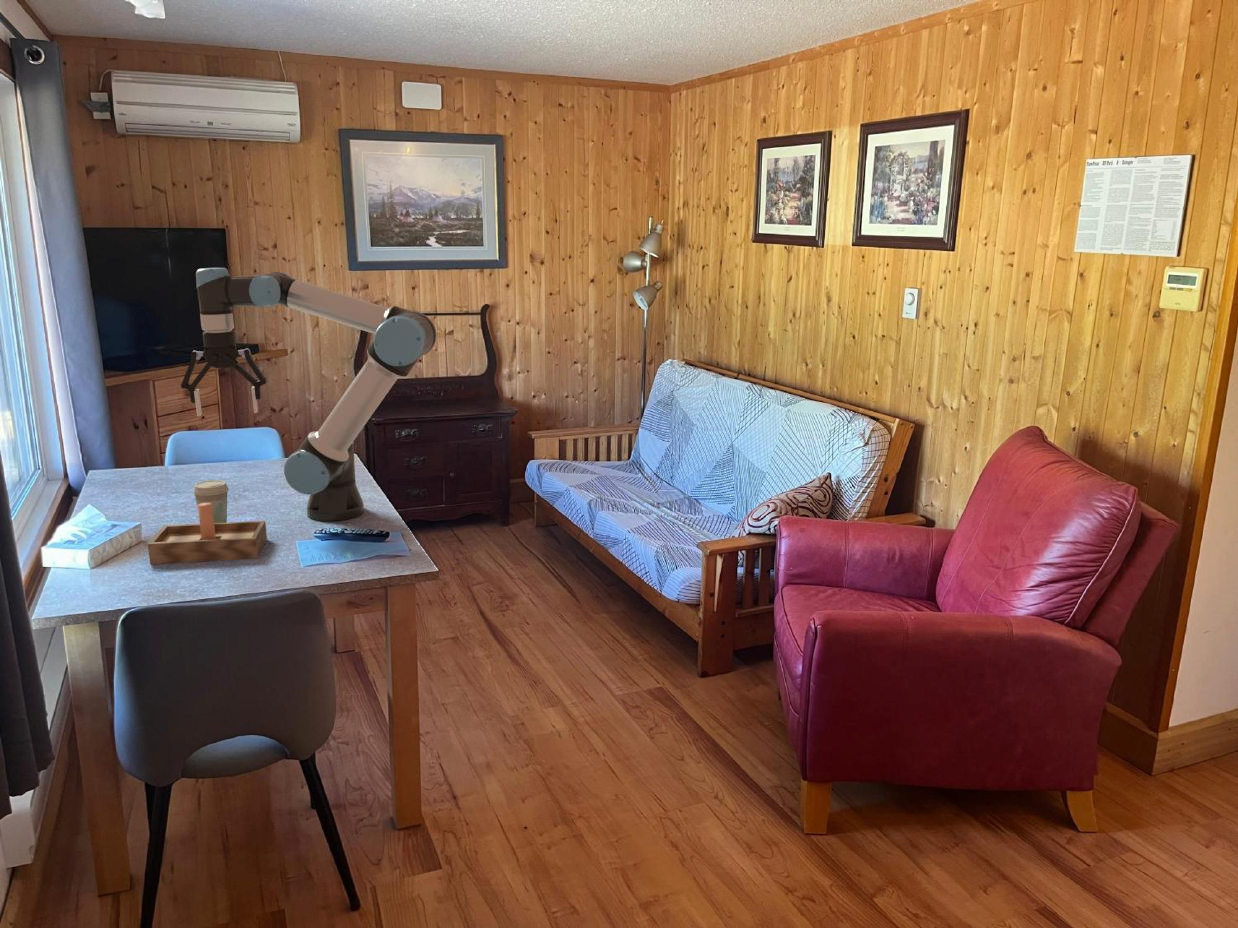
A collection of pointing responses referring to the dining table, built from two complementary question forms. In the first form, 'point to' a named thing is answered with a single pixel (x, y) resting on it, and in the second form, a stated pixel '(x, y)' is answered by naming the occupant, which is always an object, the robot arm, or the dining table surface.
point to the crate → (207, 542)
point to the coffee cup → (213, 497)
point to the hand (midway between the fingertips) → (227, 413)
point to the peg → (206, 521)
